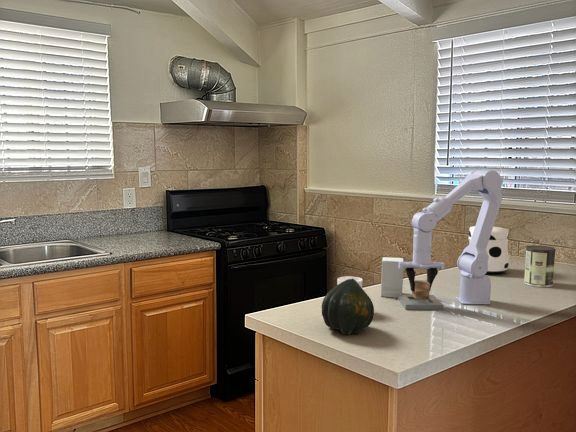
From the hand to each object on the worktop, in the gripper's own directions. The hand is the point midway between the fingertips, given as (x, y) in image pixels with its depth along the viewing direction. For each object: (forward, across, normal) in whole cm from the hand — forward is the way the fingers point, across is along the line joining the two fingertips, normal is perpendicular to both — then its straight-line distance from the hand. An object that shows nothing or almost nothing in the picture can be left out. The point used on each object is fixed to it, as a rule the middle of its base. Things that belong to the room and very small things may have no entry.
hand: (420, 290), depth 187 cm
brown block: (+2, 0, 0) cm, 2 cm away
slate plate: (+5, 0, 0) cm, 5 cm away
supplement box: (+5, -7, +12) cm, 15 cm away
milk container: (+5, +40, +51) cm, 65 cm away
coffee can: (+5, +52, +29) cm, 60 cm away
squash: (+5, -27, -26) cm, 38 cm away
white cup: (+5, -24, -7) cm, 25 cm away
